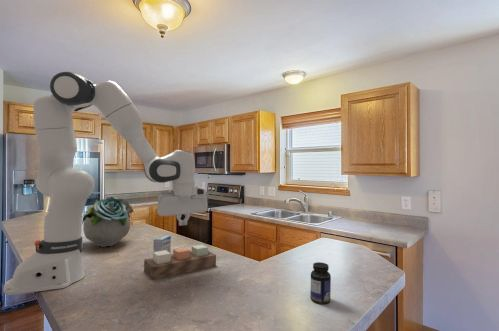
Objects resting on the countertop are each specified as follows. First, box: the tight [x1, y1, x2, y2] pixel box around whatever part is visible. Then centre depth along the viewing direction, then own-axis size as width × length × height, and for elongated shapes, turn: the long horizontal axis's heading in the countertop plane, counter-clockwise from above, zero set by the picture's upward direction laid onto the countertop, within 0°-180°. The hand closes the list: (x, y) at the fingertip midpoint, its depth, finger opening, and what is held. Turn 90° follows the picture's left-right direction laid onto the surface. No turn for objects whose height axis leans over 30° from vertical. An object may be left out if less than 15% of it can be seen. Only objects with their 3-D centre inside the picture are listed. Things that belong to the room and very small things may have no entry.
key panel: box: [143, 250, 217, 281], centre depth 111 cm, size 26×10×4 cm, turn 127°
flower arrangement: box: [82, 196, 134, 248], centre depth 141 cm, size 25×25×24 cm
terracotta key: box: [172, 246, 191, 261], centre depth 111 cm, size 5×5×4 cm
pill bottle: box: [309, 262, 332, 305], centre depth 87 cm, size 6×6×11 cm
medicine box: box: [152, 234, 172, 253], centre depth 126 cm, size 8×4×9 cm, turn 168°
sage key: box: [190, 244, 209, 257], centre depth 116 cm, size 5×5×4 cm
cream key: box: [152, 250, 172, 264], centre depth 107 cm, size 5×5×4 cm
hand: (182, 225), depth 112 cm, fingers closed
